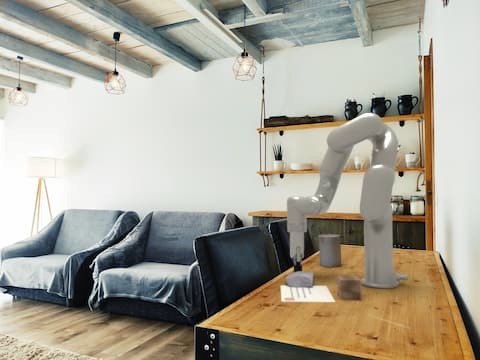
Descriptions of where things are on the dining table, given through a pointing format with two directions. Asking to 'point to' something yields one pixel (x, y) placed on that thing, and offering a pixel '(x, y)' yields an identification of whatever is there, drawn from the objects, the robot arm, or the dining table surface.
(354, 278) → the walnut cube
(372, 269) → the robot arm
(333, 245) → the pillar candle
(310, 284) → the stone block
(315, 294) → the letter
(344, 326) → the dining table surface
